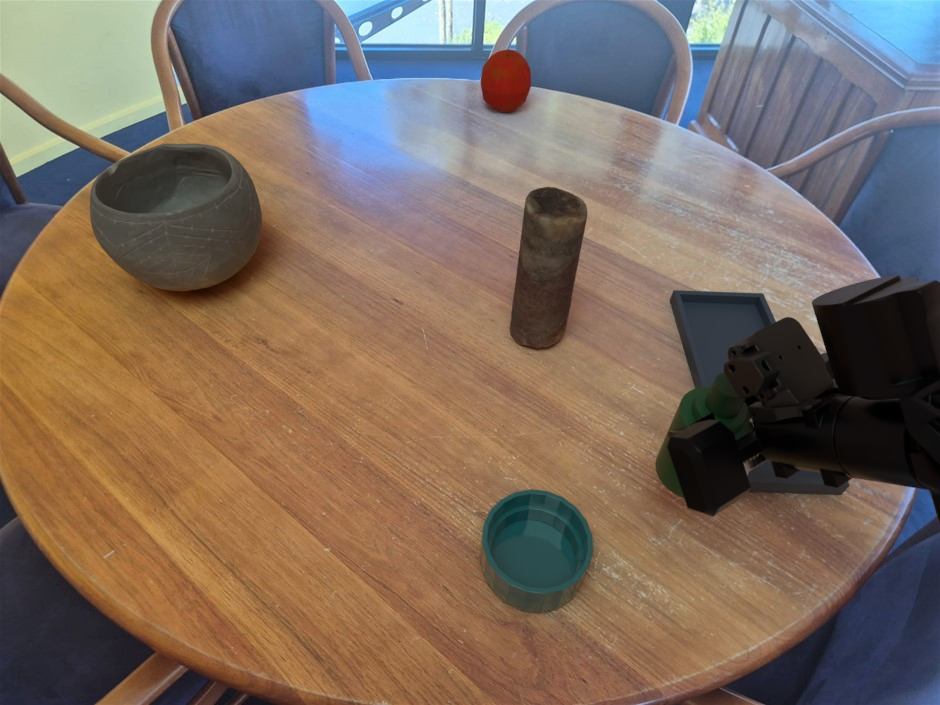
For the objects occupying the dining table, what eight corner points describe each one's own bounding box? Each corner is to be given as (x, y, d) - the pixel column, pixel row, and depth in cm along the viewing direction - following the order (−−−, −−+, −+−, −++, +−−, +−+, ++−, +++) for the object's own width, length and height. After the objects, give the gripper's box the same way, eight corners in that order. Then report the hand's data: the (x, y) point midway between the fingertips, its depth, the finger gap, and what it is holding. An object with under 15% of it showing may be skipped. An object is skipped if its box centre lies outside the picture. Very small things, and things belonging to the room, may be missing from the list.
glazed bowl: (604, 558, 61) (614, 534, 58) (542, 638, 56) (549, 617, 52) (523, 496, 66) (527, 471, 62) (459, 565, 60) (459, 541, 57)
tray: (841, 495, 67) (850, 485, 66) (725, 491, 67) (731, 481, 65) (758, 303, 88) (763, 293, 86) (669, 300, 88) (673, 289, 86)
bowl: (232, 330, 82) (198, 236, 71) (90, 303, 84) (36, 209, 73) (297, 236, 96) (278, 146, 85) (173, 216, 98) (139, 126, 87)
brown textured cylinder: (531, 304, 86) (549, 177, 72) (576, 329, 83) (603, 201, 69) (498, 334, 82) (509, 205, 68) (543, 360, 79) (565, 231, 65)
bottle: (736, 486, 59) (790, 400, 50) (682, 510, 57) (728, 426, 48) (693, 435, 63) (736, 347, 54) (642, 457, 61) (676, 369, 52)
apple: (490, 92, 132) (493, 35, 123) (535, 102, 129) (541, 44, 121) (472, 112, 125) (473, 53, 117) (518, 122, 123) (524, 63, 114)
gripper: (912, 281, 45) (742, 304, 59) (729, 377, 38) (588, 377, 52) (953, 423, 46) (777, 412, 60) (782, 542, 39) (629, 497, 53)
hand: (697, 421), depth 56 cm, fingers closed on bottle, 6 cm apart
